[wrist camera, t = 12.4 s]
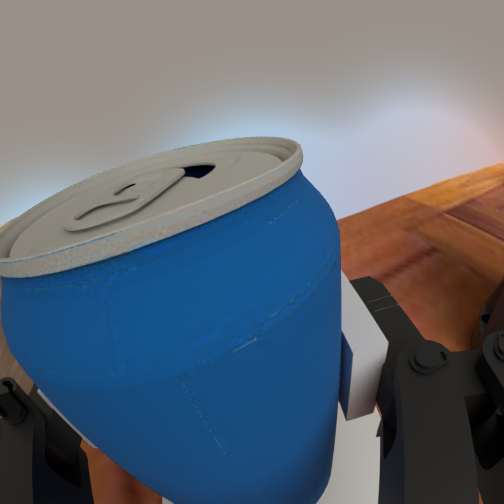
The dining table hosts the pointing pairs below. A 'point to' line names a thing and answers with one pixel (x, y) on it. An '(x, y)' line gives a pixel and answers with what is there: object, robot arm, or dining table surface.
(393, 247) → the dining table surface
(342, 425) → the grey mat
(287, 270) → the beverage can
